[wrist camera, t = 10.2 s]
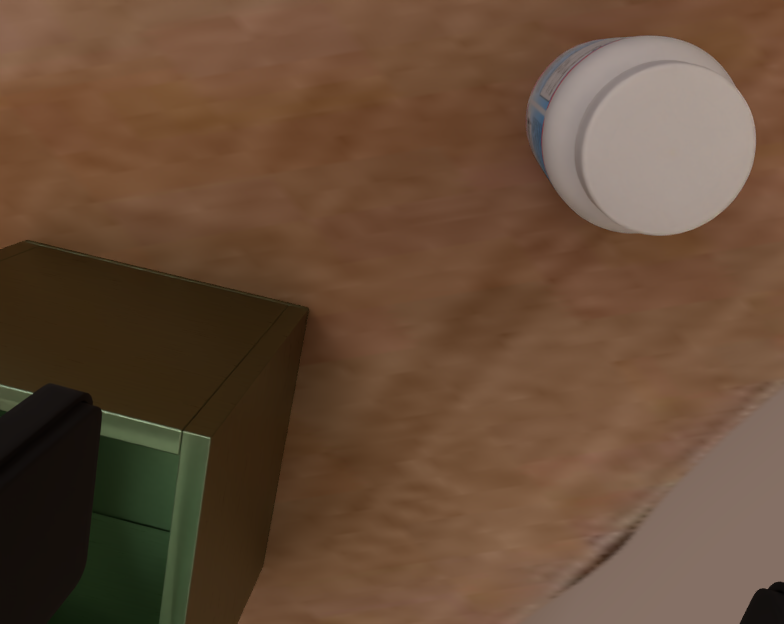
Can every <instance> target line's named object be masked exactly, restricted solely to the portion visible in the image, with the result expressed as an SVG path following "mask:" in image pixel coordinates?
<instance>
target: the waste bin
mask: <svg viewBox="0 0 784 624" xmlns="http://www.w3.org/2000/svg"><path fill="white" fill-rule="evenodd" d="M308 313H309V308H308V307H305V306H300V305H296V304H292V303H288V302H284V301H280V300H275V299H271V298H267V297H263V296H259V295H255V294H250V293H246V292H242V291H238V290H234V289H230V288H226V287H221V286H217V285H213V284H209V283H205V282H201V281H196V280H192V279H188V278H184V277H180V276H176V275H171V274H167V273H163V272H159V271H155V270H151V269H146V268H142V267H138V266H134V265H130V264H126V263H121V262H117V261H113V260H109V259H105V258H101V257H96V256H92V255H88V254H84V253H80V252H76V251H72V250H67V249H63V248H59V247H55V246H51V245H47V244H42V243H38V242H34V241H30V240H25V241H22V242H19V243H16V244H14V245H11V246H8V247H6V248H3V249H0V417H1V416H2V415H4V414H5V413H6V412H8V411H9V410H11V409H12V408H13V407H15V406H16V405H18V404H19V403H20V402H22V401H23V400H25V399H26V398H27V397H29V396H30V395H31V394H33V393H34V392H36V391H37V390H38V389H40V388H41V387H43V386H44V385H46V384H48V383H51V384H56V385H60V386H64V387H67V388H71V389H75V390H78V391H82V392H86V393H89V394H90V395H91V396H92V400H93V405H94V406H98V407H100V408H101V410H102V424H101V433H100V442H99V452H98V461H97V470H96V480H95V489H94V498H93V508H92V517H91V526H90V536H89V545H88V554H87V561H86V566H85V569H84V572H83V574H82V577H81V579H80V580H79V582H78V584H77V585H76V587H75V588H74V590H73V591H72V592H71V593H70V595H69V596H68V597H67V598H66V600H65V601H64V602H63V604H62V605H61V606H60V607H59V609H58V610H57V611H56V612H55V614H54V615H53V616H52V617H51V619H50V620H49V621H48V622H47V624H237V623H238V621H239V619H240V616H241V614H242V612H243V610H244V608H245V605H246V603H247V601H248V599H249V597H250V594H251V592H252V590H253V588H254V586H255V583H256V581H257V579H258V577H259V575H260V572H261V570H262V568H263V564H264V559H265V553H266V548H267V542H268V536H269V531H270V525H271V520H272V514H273V509H274V503H275V497H276V492H277V486H278V481H279V475H280V469H281V464H282V458H283V453H284V447H285V442H286V436H287V430H288V425H289V419H290V414H291V408H292V403H293V397H294V391H295V386H296V380H297V375H298V369H299V363H300V358H301V352H302V347H303V341H304V336H305V330H306V324H307V319H308Z"/></svg>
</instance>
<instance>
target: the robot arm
mask: <svg viewBox="0 0 784 624" xmlns="http://www.w3.org/2000/svg"><path fill="white" fill-rule="evenodd" d="M101 424H102V410H101V408H100V407H98V406H94V405H93V400H92V396H91V395H90V394H89V393H86V392H82V391H78V390H75V389H71V388H67V387H64V386H60V385H56V384H51V383H48V384H46V385H44V386H43V387H41V388H40V389H38V390H37V391H36V392H34V393H33V394H31V395H30V396H29V397H27V398H26V399H25V400H23V401H22V402H20V403H19V404H18V405H16V406H15V407H13V408H12V409H11V410H9V411H8V412H6V413H5V414H4V415H2V416H1V417H0V624H47V622H48V621H49V620H50V619H51V617H52V616H53V615H54V614H55V612H56V611H57V610H58V609H59V607H60V606H61V605H62V604H63V602H64V601H65V600H66V598H67V597H68V596H69V595H70V593H71V592H72V591H73V590H74V588H75V587H76V585H77V584H78V582H79V580H80V579H81V577H82V574H83V572H84V569H85V566H86V561H87V554H88V545H89V536H90V526H91V517H92V508H93V498H94V489H95V480H96V470H97V461H98V452H99V442H100V433H101ZM740 624H784V582H776V583H774V584H772V585H771V586H770V587H769V588H768V589H764V588H762V589H759V590H758V591H757V592H756V593H755V594H754V596H753V598H752V600H751V602H750V604H749V606H748V608H747V610H746V612H745V614H744V616H743V618H742V620H741V622H740Z"/></svg>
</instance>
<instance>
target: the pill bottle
mask: <svg viewBox="0 0 784 624" xmlns="http://www.w3.org/2000/svg"><path fill="white" fill-rule="evenodd" d="M526 131H527V137H528V141H529V145H530V147H531V150H532V152H533V154H534V156H535V158H536V160H537V162H538V163H539V165H540V166H541V168H542V170H543V171H544V173H545V174H546V176H547V178H548V179H549V181H550V182H551V184H552V185H553V187H554V189H555V190H556V191H557V193H558V194H559V196H560V197H561V198H562V199H563V201H564V202H565V203H566V204H567V205H568V206H569V207H570V208H571V209H572V210H573V211H574V212H575V213H577V214H578V215H579V216H580V217H582V218H583V219H585V220H587V221H588V222H590V223H592V224H594V225H596V226H599V227H601V228H604V229H607V230H611V231H615V232H621V233H641V234H645V235H655V236H664V235H673V234H679V233H683V232H686V231H690V230H693V229H695V228H697V227H699V226H701V225H703V224H705V223H707V222H709V221H710V220H712V219H713V218H715V217H716V216H717V215H719V214H720V213H721V212H722V211H724V210H725V209H726V208H727V207H728V206H729V205H730V204H731V203H732V201H733V200H734V199H735V198H736V197H737V195H738V194H739V192H740V191H741V189H742V188H743V186H744V184H745V182H746V180H747V178H748V176H749V174H750V171H751V168H752V166H753V161H754V156H755V149H756V131H755V125H754V119H753V116H752V113H751V111H750V108H749V106H748V104H747V102H746V100H745V99H744V97H743V96H742V94H741V93H740V92H739V90H738V89H737V88H736V86H735V84H734V83H733V81H732V79H731V77H730V76H729V75H728V73H727V72H726V71H725V69H724V68H723V67H722V66H721V65H720V64H719V63H718V62H717V61H716V60H715V59H714V58H713V57H712V56H711V55H709V54H708V53H707V52H705V51H704V50H702V49H701V48H699V47H697V46H695V45H693V44H691V43H688V42H685V41H683V40H679V39H675V38H671V37H664V36H633V37H620V38H609V39H598V40H593V41H589V42H585V43H582V44H579V45H577V46H575V47H573V48H571V49H569V50H567V51H565V52H564V53H562V54H561V55H559V56H558V57H557V58H556V59H555V60H553V61H552V62H551V63H550V64H549V65H548V66H547V68H546V69H545V70H544V71H543V73H542V74H541V75H540V77H539V78H538V80H537V82H536V84H535V86H534V88H533V90H532V92H531V95H530V98H529V101H528V106H527V112H526Z"/></svg>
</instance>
